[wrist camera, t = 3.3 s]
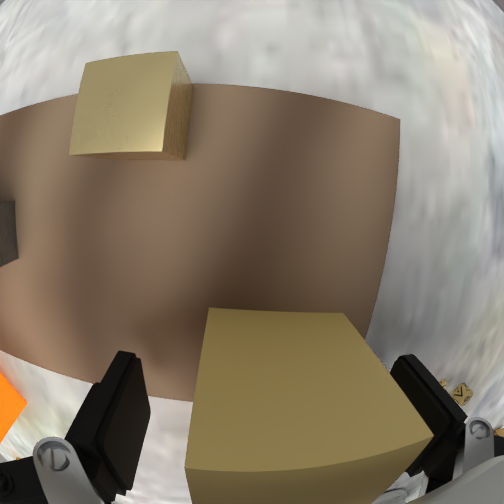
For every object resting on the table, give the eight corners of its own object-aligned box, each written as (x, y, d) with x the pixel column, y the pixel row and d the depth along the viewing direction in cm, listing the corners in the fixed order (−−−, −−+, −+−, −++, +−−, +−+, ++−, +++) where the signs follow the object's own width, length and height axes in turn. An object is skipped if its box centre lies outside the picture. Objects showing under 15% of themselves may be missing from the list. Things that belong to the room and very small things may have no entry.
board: (385, 124, 10) (400, 119, 8) (335, 386, 13) (342, 400, 12) (-24, 132, 8) (-37, 131, 7) (-7, 333, 11) (-17, 341, 10)
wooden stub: (194, 88, 8) (177, 51, 5) (185, 161, 8) (161, 151, 6) (124, 91, 8) (85, 63, 5) (114, 160, 8) (69, 155, 5)
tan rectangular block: (343, 312, 10) (433, 435, 4) (316, 404, 11) (355, 517, 5) (209, 307, 10) (184, 467, 3) (207, 404, 11) (199, 531, 5)
